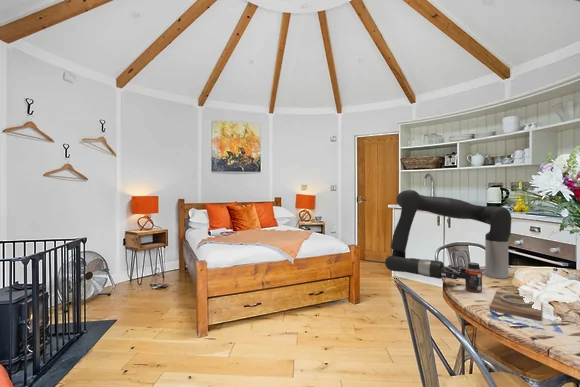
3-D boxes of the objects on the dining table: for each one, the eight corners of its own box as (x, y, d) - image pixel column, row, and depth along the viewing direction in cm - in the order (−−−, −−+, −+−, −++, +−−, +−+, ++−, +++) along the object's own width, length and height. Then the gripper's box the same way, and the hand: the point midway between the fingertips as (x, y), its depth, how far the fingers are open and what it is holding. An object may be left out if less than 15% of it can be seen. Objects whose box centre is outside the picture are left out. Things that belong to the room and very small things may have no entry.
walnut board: (496, 294, 124) (496, 287, 124) (541, 302, 115) (541, 295, 115) (489, 310, 108) (490, 302, 108) (541, 320, 100) (541, 312, 100)
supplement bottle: (484, 293, 126) (484, 265, 125) (468, 292, 127) (468, 264, 126) (478, 288, 131) (478, 262, 131) (463, 287, 133) (463, 261, 132)
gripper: (426, 263, 134) (469, 269, 124) (435, 257, 145) (475, 262, 135) (426, 280, 134) (469, 288, 124) (435, 273, 145) (475, 279, 135)
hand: (472, 274), depth 129 cm, fingers open, 8 cm apart
